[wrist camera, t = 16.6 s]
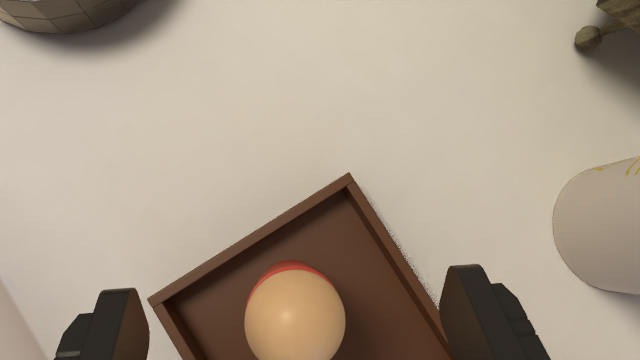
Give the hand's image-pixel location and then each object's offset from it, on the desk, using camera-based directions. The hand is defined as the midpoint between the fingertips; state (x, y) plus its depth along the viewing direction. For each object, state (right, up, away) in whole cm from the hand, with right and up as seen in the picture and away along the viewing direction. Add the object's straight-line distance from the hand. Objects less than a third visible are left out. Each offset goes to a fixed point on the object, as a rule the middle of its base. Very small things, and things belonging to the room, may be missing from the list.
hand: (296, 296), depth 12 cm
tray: (+1, -8, +16) cm, 18 cm away
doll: (-1, -4, +16) cm, 16 cm away
